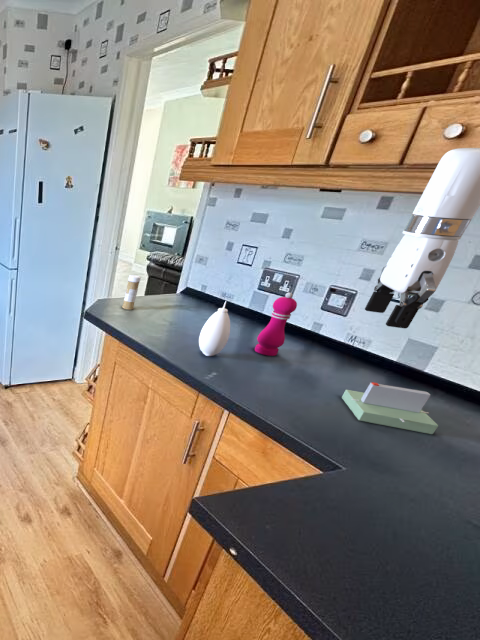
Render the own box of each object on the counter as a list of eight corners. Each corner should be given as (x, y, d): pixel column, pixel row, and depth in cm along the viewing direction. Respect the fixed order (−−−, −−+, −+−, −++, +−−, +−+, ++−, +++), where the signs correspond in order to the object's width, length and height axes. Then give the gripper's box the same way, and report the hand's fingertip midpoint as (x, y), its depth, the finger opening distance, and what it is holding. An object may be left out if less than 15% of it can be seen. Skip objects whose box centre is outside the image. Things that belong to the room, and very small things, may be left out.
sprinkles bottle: (121, 306, 175) (128, 274, 168) (133, 307, 174) (140, 275, 167) (122, 309, 171) (129, 276, 164) (134, 310, 170) (141, 277, 163)
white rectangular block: (415, 409, 101) (428, 391, 98) (419, 412, 100) (431, 394, 97) (360, 399, 104) (370, 381, 102) (363, 402, 103) (373, 384, 101)
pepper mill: (257, 355, 133) (281, 294, 124) (249, 346, 139) (272, 288, 130) (282, 357, 132) (308, 296, 122) (273, 349, 138) (298, 290, 128)
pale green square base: (407, 406, 107) (413, 398, 106) (439, 438, 95) (446, 429, 93) (336, 394, 112) (341, 385, 111) (358, 423, 99) (363, 414, 98)
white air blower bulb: (192, 348, 137) (209, 295, 128) (218, 351, 135) (237, 298, 126) (196, 358, 130) (214, 302, 121) (224, 361, 128) (244, 305, 120)
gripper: (494, 237, 65) (432, 337, 74) (435, 223, 79) (388, 309, 88) (434, 232, 68) (379, 330, 76) (386, 220, 82) (345, 303, 90)
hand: (384, 318), depth 82 cm, fingers open, 9 cm apart
